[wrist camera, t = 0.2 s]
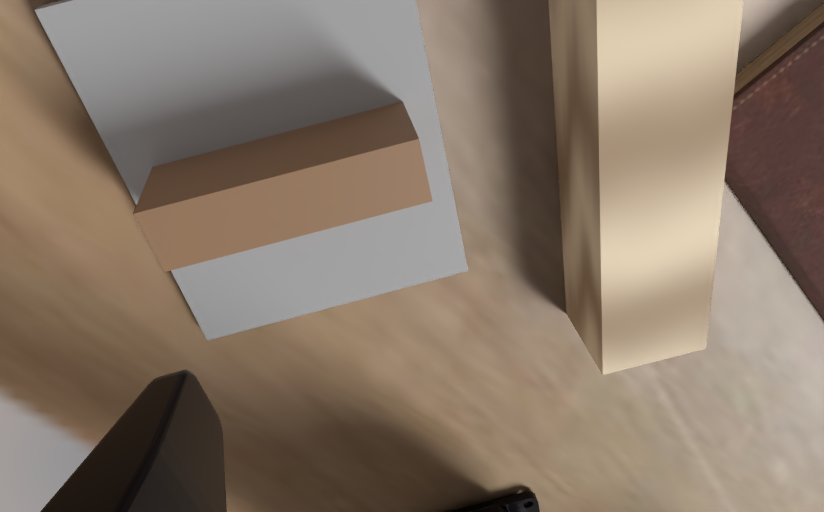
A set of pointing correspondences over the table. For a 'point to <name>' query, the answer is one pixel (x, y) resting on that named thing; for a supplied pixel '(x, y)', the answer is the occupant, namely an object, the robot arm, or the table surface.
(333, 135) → the fulcrum stand
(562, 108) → the beech bar
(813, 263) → the notebook
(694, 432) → the table surface
